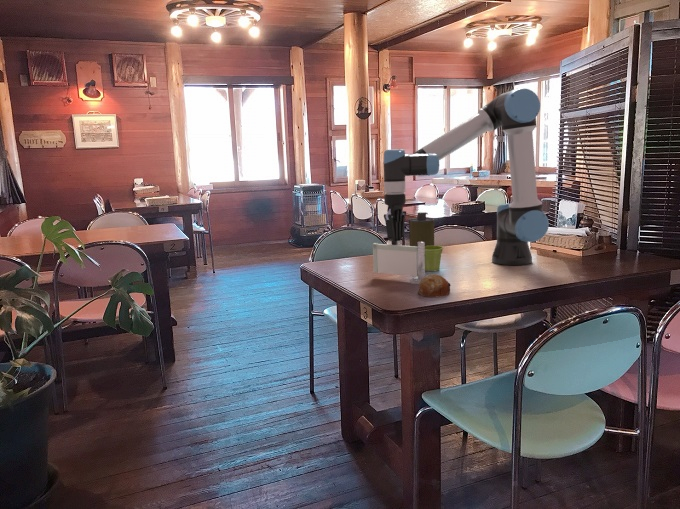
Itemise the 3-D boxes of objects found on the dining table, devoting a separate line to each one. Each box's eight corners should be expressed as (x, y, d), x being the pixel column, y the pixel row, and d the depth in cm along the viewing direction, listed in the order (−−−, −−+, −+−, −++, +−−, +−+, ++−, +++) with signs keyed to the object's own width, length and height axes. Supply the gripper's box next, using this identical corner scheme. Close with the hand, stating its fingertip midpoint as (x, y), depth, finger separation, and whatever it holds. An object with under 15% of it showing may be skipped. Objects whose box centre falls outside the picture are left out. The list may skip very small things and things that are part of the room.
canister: (434, 258, 233) (433, 211, 230) (435, 263, 223) (435, 213, 220) (408, 259, 235) (407, 211, 231) (408, 264, 224) (407, 214, 221)
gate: (418, 276, 193) (418, 245, 191) (416, 277, 192) (416, 246, 190) (375, 271, 203) (375, 243, 201) (373, 272, 202) (372, 243, 200)
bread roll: (420, 301, 182) (410, 280, 180) (448, 286, 182) (438, 265, 180) (428, 309, 172) (416, 287, 171) (457, 293, 172) (446, 271, 171)
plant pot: (428, 273, 205) (428, 250, 204) (413, 269, 213) (413, 247, 212) (448, 270, 209) (448, 247, 208) (433, 266, 218) (433, 244, 216)
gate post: (433, 281, 193) (432, 241, 190) (425, 285, 188) (425, 244, 185) (417, 279, 196) (417, 240, 194) (409, 283, 191) (409, 243, 189)
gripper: (394, 191, 206) (395, 254, 210) (376, 194, 195) (378, 260, 200) (412, 192, 202) (413, 256, 206) (395, 194, 191) (396, 262, 195)
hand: (396, 258), depth 203 cm, fingers closed
